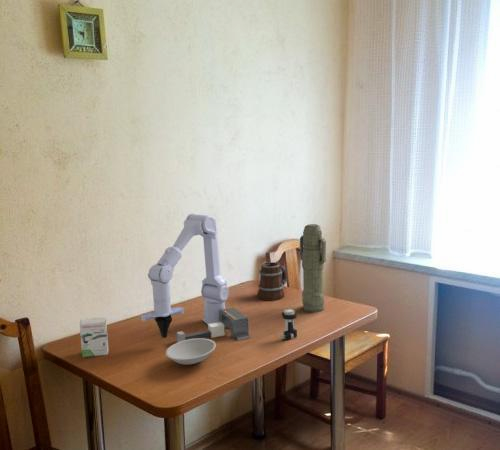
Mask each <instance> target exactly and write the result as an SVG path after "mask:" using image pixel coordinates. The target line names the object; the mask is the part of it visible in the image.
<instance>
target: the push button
mask: <svg viewBox="0 0 500 450" xmlns="http://www.w3.org/2000/svg"><path fill="white" fill-rule="evenodd" d="M281 316H282V319H284V331H283V332H282V335H281V336H280V337H281V338H280V339H281V340H286V341H287V340H290V339H291V340H292V339H294V338H297V337H298V330H297V329H296V328H295V319H297V316H298V314H297V311H295V310H294V309H292V308H287V309H284V311H282V312H281Z"/></svg>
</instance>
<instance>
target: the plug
mask: <svg viewBox="0 0 500 450" xmlns="http://www.w3.org/2000/svg"><path fill="white" fill-rule="evenodd" d="M225 335H226V333H225V329H224V324H223V323H221V322H217V323H212V324H207V330H204V331H198V332H193V333H189V334H186V333H185V332H184V331H182V330H181V331H177V332H176V343H178V342H180V341H184V340H188V339H195V338H205V339H210V338H211V339H212V338H218V337H223V336H225Z"/></svg>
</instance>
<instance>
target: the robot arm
mask: <svg viewBox="0 0 500 450" xmlns="http://www.w3.org/2000/svg"><path fill="white" fill-rule="evenodd" d="M194 236H201V238H203V250H204V251H203V252H204V265H205V277H204V279H203V280H202V282H201V283H202V286H201V290H200V293H201V296H202V297H203V298H204V302H203V318H201V319H202V321H203V322H204V323H205V324H207V325H208V324H212V323H217V322H219V310H220V309H226V301H227V299H228V297H229V295H230V289H229V286H228V283H227V280H226V279H225V278H224V277H223V275H221V265H220V250H219V249H220V247H219V237H218V229H217V220H216V218H215V217H213V216H212V215H210V214H209V215H206V214H205V215H203V214H195V213H190V214H188V215H187V216H186V218H185V219H184V221H183V228H182V229H181V231H180V233H179V235H178V237H177V238H176V240H175V242H174V244H173V245H172V246H168V247H167V248H165V250H164V252H163V254H162V255H161V257H160V258H159V260H158V261H157V263H155V264H154V265H151V266H150V268H149V271H148V274H147V277H148V279H149V281H150V284H151V286H152V297H153V301H152V302H153V310H152V311H149V312H145V313H141V314H140V316H141V318H140V320H141V321H142V322H146V321H148V320H154V321H155V322H156V324H157V327H158V329H159V332H160V336H161V338H162V339H164V338H167V337H168V331H169V328H170V325H171V323H172V321H173V317H172V316H175V315H176V316H177V315H184V314H185V311H184V308H183V307H182V306H181V307H172V305H171V293H170V292H171V289H170V281H171V280H172V279H173V276H174V271H175V267H176V266H177V264H178V263H179V261H180V260H181V258H182V251H183V250H184V248H185V247H186V246H187V245H188V243H189V242H190V241H191V240H192V238H193V237H194Z"/></svg>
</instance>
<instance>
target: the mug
mask: <svg viewBox="0 0 500 450" xmlns="http://www.w3.org/2000/svg"><path fill="white" fill-rule="evenodd" d="M258 273H259V275H260V277H259V284H257V287H258V291H257V296H258V299H260V300H263V301H272V302H273V301H278V300H281V299H283V298H285V292H284V288H285V286H284V285H285V284H286V283H287V281H288V277H287V269H286V266H284V265H283V266H282V265H280V263H279V262H272V261H270V262H269V261H267V262H264V263H261V266H260V270H259V271H258Z"/></svg>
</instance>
